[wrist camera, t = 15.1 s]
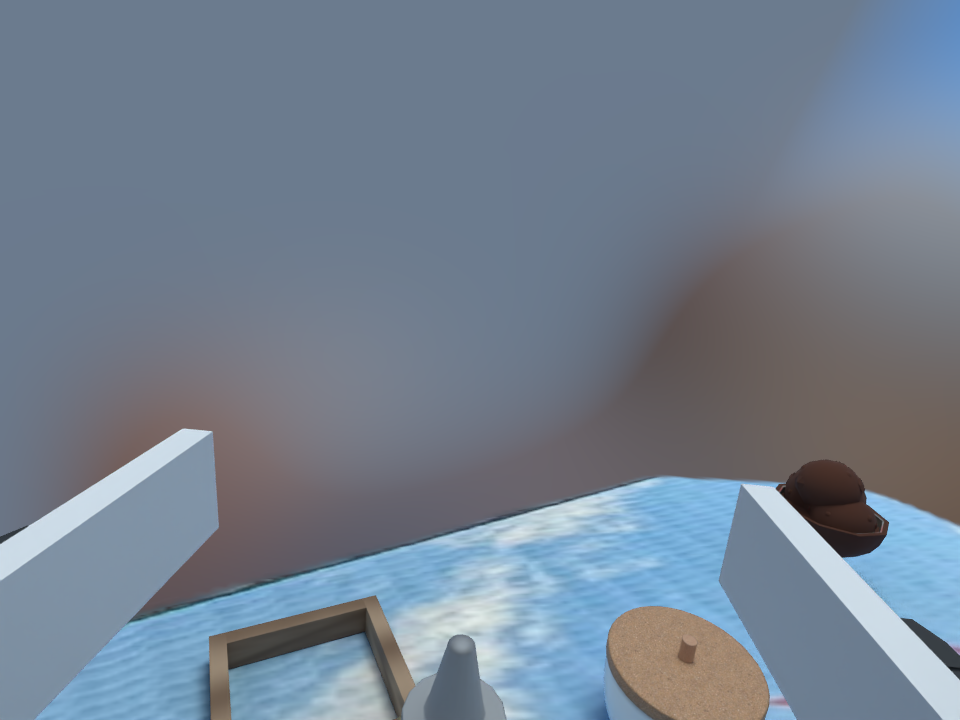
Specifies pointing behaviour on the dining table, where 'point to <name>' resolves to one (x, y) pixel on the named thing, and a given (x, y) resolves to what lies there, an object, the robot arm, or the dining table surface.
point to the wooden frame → (306, 633)
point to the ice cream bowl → (835, 507)
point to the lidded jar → (679, 670)
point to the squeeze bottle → (454, 689)
